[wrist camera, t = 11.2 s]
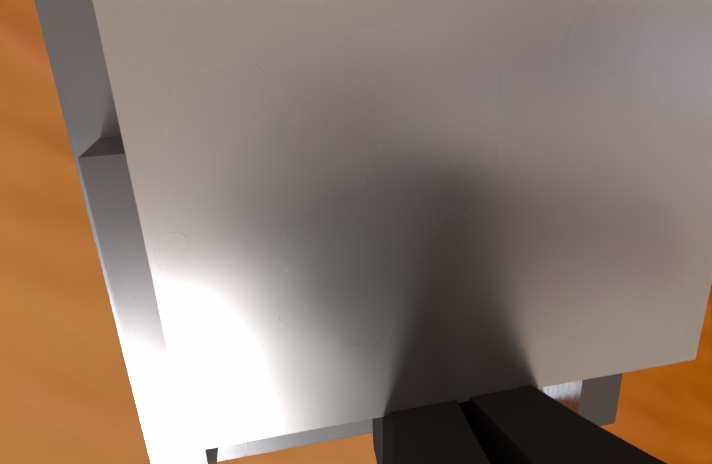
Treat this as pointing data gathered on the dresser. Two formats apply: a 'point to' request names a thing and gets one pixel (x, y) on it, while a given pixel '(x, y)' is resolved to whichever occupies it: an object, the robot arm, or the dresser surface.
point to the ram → (412, 197)
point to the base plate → (131, 266)
